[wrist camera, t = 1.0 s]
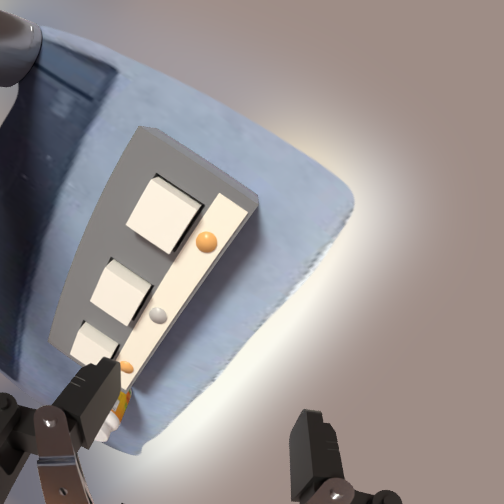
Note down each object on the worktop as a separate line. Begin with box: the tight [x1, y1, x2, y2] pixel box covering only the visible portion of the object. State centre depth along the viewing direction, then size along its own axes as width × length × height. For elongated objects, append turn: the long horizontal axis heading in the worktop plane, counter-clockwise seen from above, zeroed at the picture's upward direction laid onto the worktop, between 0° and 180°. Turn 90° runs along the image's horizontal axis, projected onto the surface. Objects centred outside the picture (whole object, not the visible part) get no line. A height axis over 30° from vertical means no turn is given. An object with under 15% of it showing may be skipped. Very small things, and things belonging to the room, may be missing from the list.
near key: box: [126, 176, 203, 254], centre depth 24 cm, size 4×4×3 cm
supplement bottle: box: [94, 388, 132, 442], centre depth 34 cm, size 5×5×10 cm
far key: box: [70, 322, 118, 365], centre depth 29 cm, size 4×4×3 cm
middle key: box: [90, 259, 152, 326], centre depth 27 cm, size 4×4×3 cm
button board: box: [48, 126, 259, 394], centre depth 29 cm, size 28×12×5 cm, turn 145°
